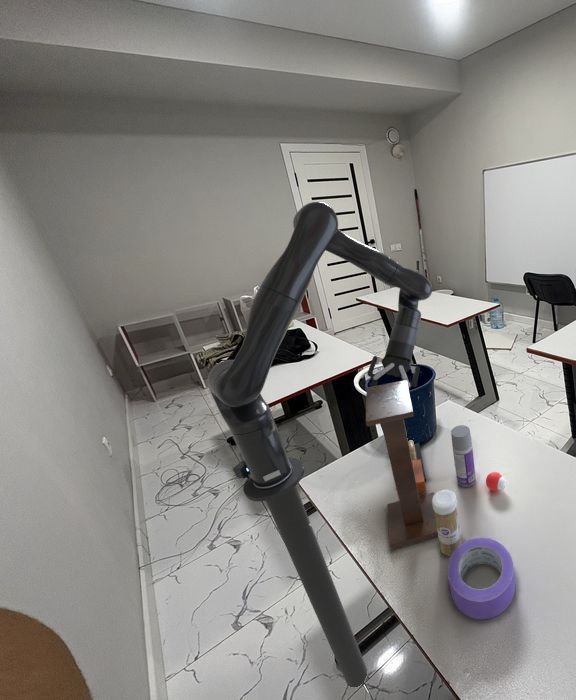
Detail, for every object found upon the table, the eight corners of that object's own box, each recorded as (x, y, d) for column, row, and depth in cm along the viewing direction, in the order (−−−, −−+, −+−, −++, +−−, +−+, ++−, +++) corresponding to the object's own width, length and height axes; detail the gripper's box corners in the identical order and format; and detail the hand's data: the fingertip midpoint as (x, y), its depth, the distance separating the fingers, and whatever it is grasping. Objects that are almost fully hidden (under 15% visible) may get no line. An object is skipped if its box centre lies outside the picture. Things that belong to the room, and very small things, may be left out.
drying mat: (394, 447, 103) (394, 445, 102) (418, 441, 104) (418, 440, 104) (398, 487, 88) (398, 485, 88) (426, 480, 90) (425, 478, 89)
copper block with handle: (426, 492, 85) (424, 481, 84) (411, 496, 85) (409, 485, 83) (416, 435, 106) (414, 425, 104) (404, 438, 105) (401, 428, 104)
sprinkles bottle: (440, 558, 70) (431, 509, 65) (440, 537, 74) (432, 489, 69) (463, 555, 70) (456, 506, 65) (462, 535, 75) (455, 487, 69)
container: (472, 471, 91) (467, 423, 85) (478, 484, 87) (473, 434, 81) (455, 475, 90) (448, 427, 84) (459, 489, 86) (453, 439, 80)
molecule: (483, 491, 85) (482, 477, 83) (492, 477, 88) (491, 464, 87) (502, 498, 82) (501, 484, 81) (510, 484, 86) (510, 470, 84)
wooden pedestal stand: (443, 537, 74) (421, 409, 61) (390, 552, 72) (356, 423, 59) (434, 494, 85) (414, 378, 72) (388, 506, 83) (358, 389, 70)
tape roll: (438, 580, 66) (434, 563, 64) (485, 543, 72) (484, 525, 70) (478, 636, 57) (475, 618, 55) (528, 588, 64) (528, 569, 62)
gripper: (423, 349, 109) (409, 400, 107) (377, 336, 105) (362, 390, 103) (427, 347, 102) (413, 403, 100) (378, 334, 98) (362, 391, 96)
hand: (387, 396), depth 102 cm, fingers open, 8 cm apart
